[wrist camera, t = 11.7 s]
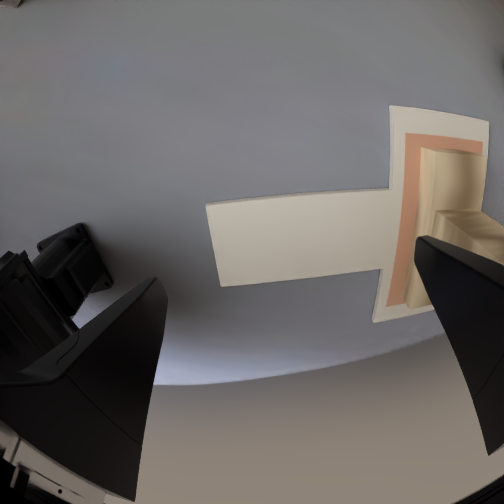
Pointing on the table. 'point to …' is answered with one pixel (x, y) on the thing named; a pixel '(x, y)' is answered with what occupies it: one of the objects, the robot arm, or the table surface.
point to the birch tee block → (451, 212)
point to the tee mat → (342, 218)
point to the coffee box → (9, 3)
